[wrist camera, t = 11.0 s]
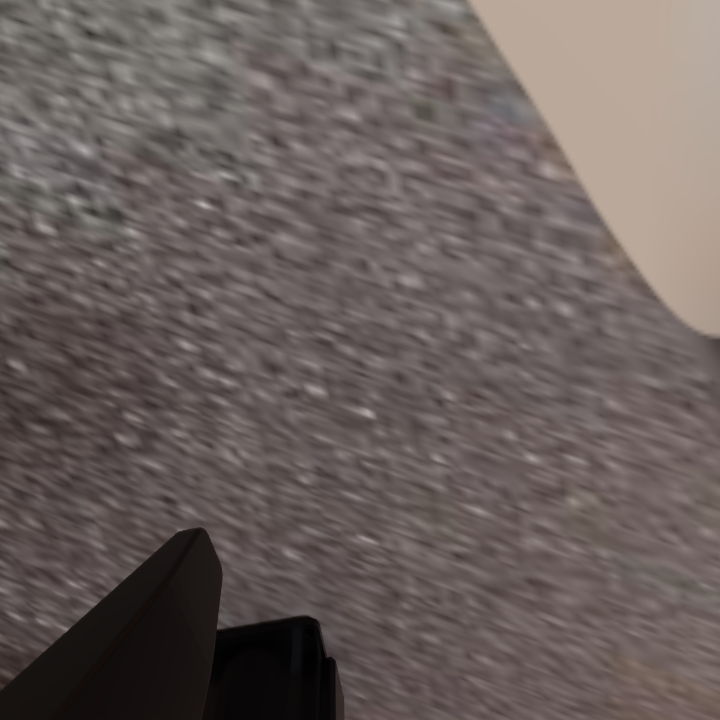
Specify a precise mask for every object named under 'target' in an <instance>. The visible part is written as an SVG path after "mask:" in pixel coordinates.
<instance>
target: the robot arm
mask: <svg viewBox="0 0 720 720" xmlns="http://www.w3.org/2000/svg"><path fill="white" fill-rule="evenodd" d="M221 587H222V567H221V564H220V561H219V559H218V556H217V554H216V551H215V549H214V547H213V544H212V542H211V540H210V537H209V535H208V533H207V531H206V530H205V529H203V528H201V527H198V528H193V529H188V530H183V531H180V532H178V533H176V534H175V535H174V536H173V537H172V538H171V539H170V540H168V541H167V542H166V543H165V544H164V545H163V546H162V547H161V548H159V549H158V550H157V551H156V552H155V553H154V554H153V555H152V556H151V557H149V558H148V559H147V560H146V561H145V562H144V563H143V564H142V565H141V566H139V567H138V568H137V569H136V570H135V571H134V572H133V573H132V574H130V575H129V576H128V577H127V578H126V579H125V580H124V581H123V582H122V583H120V584H119V585H118V586H117V587H116V588H115V589H114V590H113V591H111V592H110V593H109V594H108V595H107V596H106V597H105V598H104V599H103V600H101V601H100V602H99V603H98V604H97V605H96V606H95V607H94V608H93V609H91V610H90V611H89V612H88V613H87V614H86V615H85V616H84V617H82V618H81V619H80V620H79V621H78V622H77V623H76V624H75V625H74V626H72V627H71V628H70V629H69V630H68V631H67V632H66V633H65V634H63V635H62V636H61V637H60V638H59V639H58V640H57V641H56V642H55V643H53V644H52V645H51V646H50V647H49V648H48V649H47V650H46V651H44V652H43V653H42V654H41V655H40V656H39V657H38V658H37V659H36V660H34V661H33V662H32V663H31V664H30V665H29V666H28V667H27V668H26V669H24V670H23V671H22V672H21V673H20V674H19V675H18V676H17V677H15V678H14V679H13V680H12V681H11V682H10V683H9V684H8V685H7V686H5V687H4V688H3V689H2V690H1V691H0V720H344V697H343V692H342V688H341V683H340V678H339V674H338V669H337V664H336V661H335V660H334V659H333V658H332V657H327V654H326V650H325V645H324V641H323V636H322V632H321V627H320V624H319V622H318V621H317V620H316V619H313V618H304V619H298V620H292V621H287V622H281V623H275V624H269V625H263V626H257V627H251V628H245V629H239V630H234V631H228V632H222V633H216V631H217V622H218V613H219V605H220V596H221ZM306 629H312V631H307V630H306Z"/></svg>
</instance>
